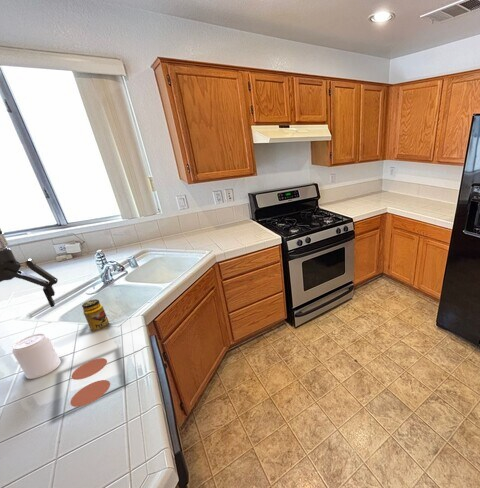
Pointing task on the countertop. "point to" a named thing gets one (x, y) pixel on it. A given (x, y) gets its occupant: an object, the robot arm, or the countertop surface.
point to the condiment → (95, 315)
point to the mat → (91, 390)
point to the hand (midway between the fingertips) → (22, 314)
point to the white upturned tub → (36, 355)
